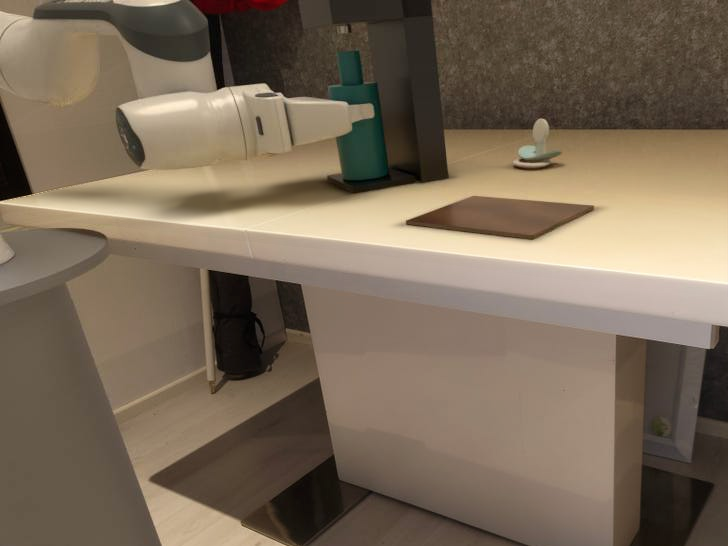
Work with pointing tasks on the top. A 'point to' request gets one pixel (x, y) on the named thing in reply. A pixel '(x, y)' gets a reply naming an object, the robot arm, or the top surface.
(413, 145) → the dark post on base
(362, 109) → the robot arm
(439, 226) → the board
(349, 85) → the bottle
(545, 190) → the top surface
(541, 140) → the pacifier
